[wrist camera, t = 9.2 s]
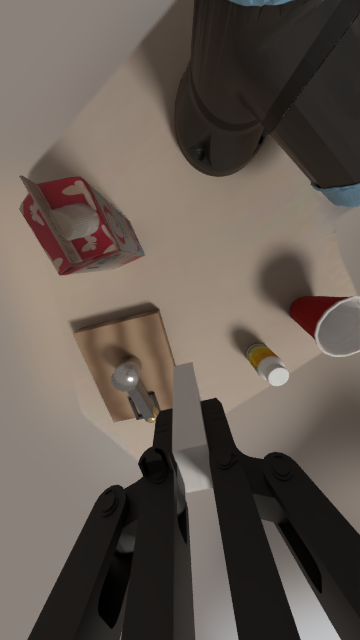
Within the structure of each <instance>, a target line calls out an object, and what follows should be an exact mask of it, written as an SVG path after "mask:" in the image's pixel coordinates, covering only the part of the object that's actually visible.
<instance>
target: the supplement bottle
mask: <svg viewBox="0 0 360 640" xmlns="http://www.w3.org/2000/svg"><path fill="white" fill-rule="evenodd" d="M247 359H248V361H249V362H250V363H251V365H252V366H253V367H254V369H255V370H256V371H257V373H258V374H259V375H260V377H261V378H263V379H265V380H267V381H268V382H269V383H270V384H271V385H274V386H280V385H282V384H284V383H285V382H286V381H287V380H288V378H289V372H288V371H287V370H286V368H285V365H284V363H283V361H282V360H281V359H280V358H279V357H278V356H277V355H276V354H275V353H273V352H272V351H271V350H270V349H269V348H268V347H267V346H266V345H264V344H254V345H252V346H251V347H250V348H249V349H248V351H247Z"/></svg>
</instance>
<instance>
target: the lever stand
mask: <svg viewBox="0 0 360 640" xmlns="http://www.w3.org/2000/svg"><path fill="white" fill-rule="evenodd" d="M73 335H74V337H75V339H76V341H77V343H78V346H79V348H80V350H81V352H82V354H83V356H84V359H85V361H86V363H87V365H88V367H89V370H90V372H91V374H92V376H93V378H94V380H95V383H96V385H97V387H98V389H99V391H100V393H101V396H102V398H103V400H104V402H105V404H106V406H107V409H108V411H109V413H110V415H111V417H112V419H113V422H118V421H123V420H127V419H132V418H136V419H137V420H139V419H143V418H144V417H143V416H142V414H141V413H140V411H139V410H138V408H137V406H136V405H135V403H134V402H133V400H132V399H131V397H130V396H129V394H128V392H123V391H119V390H117V389H116V388H115V387H114V386H113V385H112V383H111V377H112V374H113V373H114V371H115V369H116V367H117V365H118V364H119V362H120V360H121V359H122V358H124V357H126V356H133V357H136V358H137V359H138V360H139V361H140V362H141V364H142V370H141V373H140V376H139V380H140V382H141V383H142V385H143V386H144V388H145V390H146V391H147V393H148V395H149V396H150V398H151V400H152V401H153V403H154V405H155V406H156V408H157V409H158V412H160V411H161V410H166V409H170V408H173V367H174V366H175V362H174V359H173V355H172V352H171V348H170V345H169V342H168V338H167V335H166V331H165V328H164V324H163V321H162V317H161V314H160V311H159V309H158V310H154V311H150V312H146V313H142V314H138V315H134V316H130V317H126V318H122V319H118V320H113V321H109V322H105V323H101V324H97V325H93V326H89V327H85V328H81V329H79V330H78V331H76V332H75V333H74V334H73Z"/></svg>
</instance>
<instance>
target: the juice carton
mask: <svg viewBox="0 0 360 640" xmlns="http://www.w3.org/2000/svg"><path fill="white" fill-rule="evenodd" d="M20 178H21V180H22V181H23V183H24V185H25V186H26V188H27V190H28V192H29V194H28V195H27V196H26V198H25V199H24V201H23V202H22V204H21V206H20V208H19V210H20V211H21V213H22V214H23V216H24V218H25V219H26V221H27V223H28V224H29V226H30V228H31V229H32V231H33V232H34V234H35V236H36V237H37V239H38V241H39V242H40V244H41V246H42V247H43V249H44V251H45V252H46V254H47V255H48V257H49V259H50V260H51V262H52V264H53V265H54V267H55V269H56V270H57V272H58V274H59V275H68V274H77V273H85V272H93V271H101V270H110V269H116V268H118V267H120V266H123V265H125V264H127V263H129V262H131V261H134V260H136V259H138V258H140V257H142V256H145V254H144V252H143V250H142V248H141V245H140V243H139V241H138V239H137V237H136V234H135V232H134V230H133V228H132V226H131V223H130V221H129V220H128V219H127V218H126V217H125V216H124V215H123V214H121V213H120V212H119V211H118V210H117V209H116V208H115V207H114V206H113V205H111V204H110V203H109V202H108V201H107V200H106V199H105V198H103V197H102V196H101V195H100V194H99V193H98V192H97V191H96V190H95V189H94V188H92V187H91V186H90V185H89V184H88V183H87V182H86V181H85V180H84V179H82V178H81V177H70V178H65V179H60V180H55V181H50V182H45V183H41V184H35V183H34V182H32V181H30V180H28V179H27V178H25V177H23V176H20Z"/></svg>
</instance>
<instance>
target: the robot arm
mask: <svg viewBox="0 0 360 640" xmlns="http://www.w3.org/2000/svg"><path fill="white" fill-rule="evenodd" d="M345 31H346V32H345ZM331 50H332V51H331ZM328 54H329V55H328ZM325 58H326V59H325ZM314 73H315V74H314ZM308 81H309V82H308ZM305 85H306V86H305ZM302 89H303V90H302ZM300 92H301V93H300ZM297 96H298V97H297ZM294 100H295V101H294ZM291 104H292V105H291ZM288 108H289V109H288ZM286 111H287V112H286ZM285 112H286V113H285ZM283 115H284V116H283ZM280 119H281V120H280ZM275 126H276V127H275ZM175 129H176V135H177V139H178V143H179V146H180V148H181V150H182V152H183V154H184V156H185V157H186V159H187V160H188V161H189V163H190V164H191V165H192V166H193V167H195V168H196V169H197V170H199V171H200V172H202V173H204V174H207V175H210V176H216V177H221V176H227V175H231V174H233V173H236V172H237V171H239V170H241V169H242V168H243V167H245V166H246V165H247V164H248V163H249V162H250V161H251V160H252V158H253V157H254V156H255V154H256V153H257V152H258V150H259V149H260V147H261V146H262V144H263V142H264V140H265V138H266V136H267V134H268V132H269V133H270V135H271V136H272V137H273V138H274V139H275V141H276V142H277V143H278V144H279V145H280V146H281V148H282V149H283V150H284V151H285V152H286V153H287V155H288V156H289V157H290V158H291V159H292V160H293V162H294V163H295V164H296V165H297V166H298V167H299V168H300V170H301V171H302V172H303V173H304V174H305V175H306V177H307V178H308V179H309V180H310V181H311V185H312V186H313V188H314V189H316V190H318V191H321V192H322V193H323V194H324V195H325V196H326V197H327V198H328V199H329V200H330V201H331V202H332V203H333V204H335V205H337V206H345V207H358V206H360V0H194V14H193V28H192V43H191V58H190V60H189V63H188V65H187V68H186V70H185V72H184V74H183V77H182V79H181V81H180V84H179V88H178V92H177V97H176V103H175ZM138 465H139V467H140V469H141V472H142V474H143V477H142V478H141V479H140V480H138V481H137V482H136V483H134V484H132V485H130V486H129V487H127V488H125V489H123V487H122V486H120V485H113V486H111V487H109V488H107V489H106V490H105V491H104V492H103V493H102V494H101V495H100V496H99V498H98V499H97V501H96V503H95V505H94V507H93V509H92V511H91V512H90V515H89V517H88V519H87V521H86V523H85V525H84V527H83V529H82V531H81V533H80V535H79V537H78V539H77V541H76V543H75V545H74V547H73V549H72V551H71V553H70V555H69V557H68V559H67V561H66V563H65V565H64V567H63V569H62V571H61V573H60V575H59V577H58V579H57V581H56V583H55V585H54V587H53V589H52V591H51V593H50V595H49V597H48V599H47V601H46V603H45V605H44V607H43V610H42V611H41V613H40V615H39V618H38V620H37V622H36V623H35V626H34V627H33V629H32V632H31V634H30V636H29V638H28V640H119V639H120V636H121V632H122V637H121V640H195V628H194V610H193V591H192V573H191V555H190V538H189V537H190V536H189V518H188V507H187V503H186V500H185V489H186V492H187V493H188V492H193V491H198V490H204V489H209V488H213V489H214V495H215V501H216V507H217V513H218V518H219V525H220V531H221V536H222V543H223V549H224V554H225V560H226V567H227V573H228V578H229V584H230V591H231V597H232V603H233V608H234V614H235V621H236V627H237V632H238V639H239V640H301V639H300V636H299V633H298V631H297V627H296V624H295V621H294V618H293V615H292V613H291V609H290V606H289V603H288V600H287V597H286V595H285V591H284V588H283V585H282V582H281V579H280V576H279V573H278V570H277V567H276V564H275V561H274V558H273V555H272V552H271V549H270V546H269V543H268V540H267V537H266V534H265V531H264V528H263V525H262V522H261V519H263V520H267V521H271V522H274V524H275V526H276V527H277V529H278V531H279V533H280V534H281V536H282V538H283V539H284V541H285V543H286V545H287V546H288V548H289V550H290V551H291V553H292V555H293V556H294V559H295V560H296V562H297V564H298V566H299V567H300V569H301V571H302V572H303V574H304V576H305V578H306V579H307V581H308V583H309V585H310V586H311V588H312V590H313V592H314V593H315V595H316V597H317V598H318V600H319V602H320V604H321V605H322V607H323V609H324V611H325V612H326V614H327V616H328V618H329V619H330V621H331V623H332V625H333V626H334V628H335V630H336V631H337V633H338V635H339V637H340V639H341V640H360V535H359V534H358V533H357V531H356V530H355V529H354V528H353V527H352V526H351V525H350V524H349V522H348V521H347V520H346V519H345V518H344V517H343V515H342V514H341V513H340V512H339V511H338V510H337V509H336V507H335V506H334V505H333V504H332V503H331V502H330V501H329V499H328V498H327V497H326V496H325V495H324V494H323V493H322V491H321V490H320V489H319V488H318V487H317V486H316V485H315V484H314V482H313V481H312V480H311V479H310V478H309V477H308V475H307V474H306V473H305V472H304V471H303V470H302V469H301V467H300V466H299V465H298V464H297V463H296V462H295V461H294V460H293V459H292V458H291V457H289V456H287V455H285V454H283V453H279V452H273V453H269V454H268V455H266V456H265V457H264V459H259V458H253V457H249V456H247V455H245V454H243V453H242V452H240V451H239V450H238V448H237V447H236V445H235V443H234V440H233V437H232V434H231V431H230V428H229V425H228V422H227V419H226V416H225V413H224V410H223V407H222V403H221V402H220V401H219V400H218V399H217V398H213V399H209V400H204V401H202V399H201V394H200V390H199V386H198V382H197V378H196V374H195V370H194V366H193V362H191V363H187V364H183V365H178V366H174V367H173V408H170V409H166V410H161V411H160V412H159V414H158V416H157V417H156V423H155V431H154V439H153V447H150V448H149V449H147V450H146V451H145V452H144V453H143V454H142V456H141V457H140V460H139V463H138ZM122 628H123V629H122Z"/></svg>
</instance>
